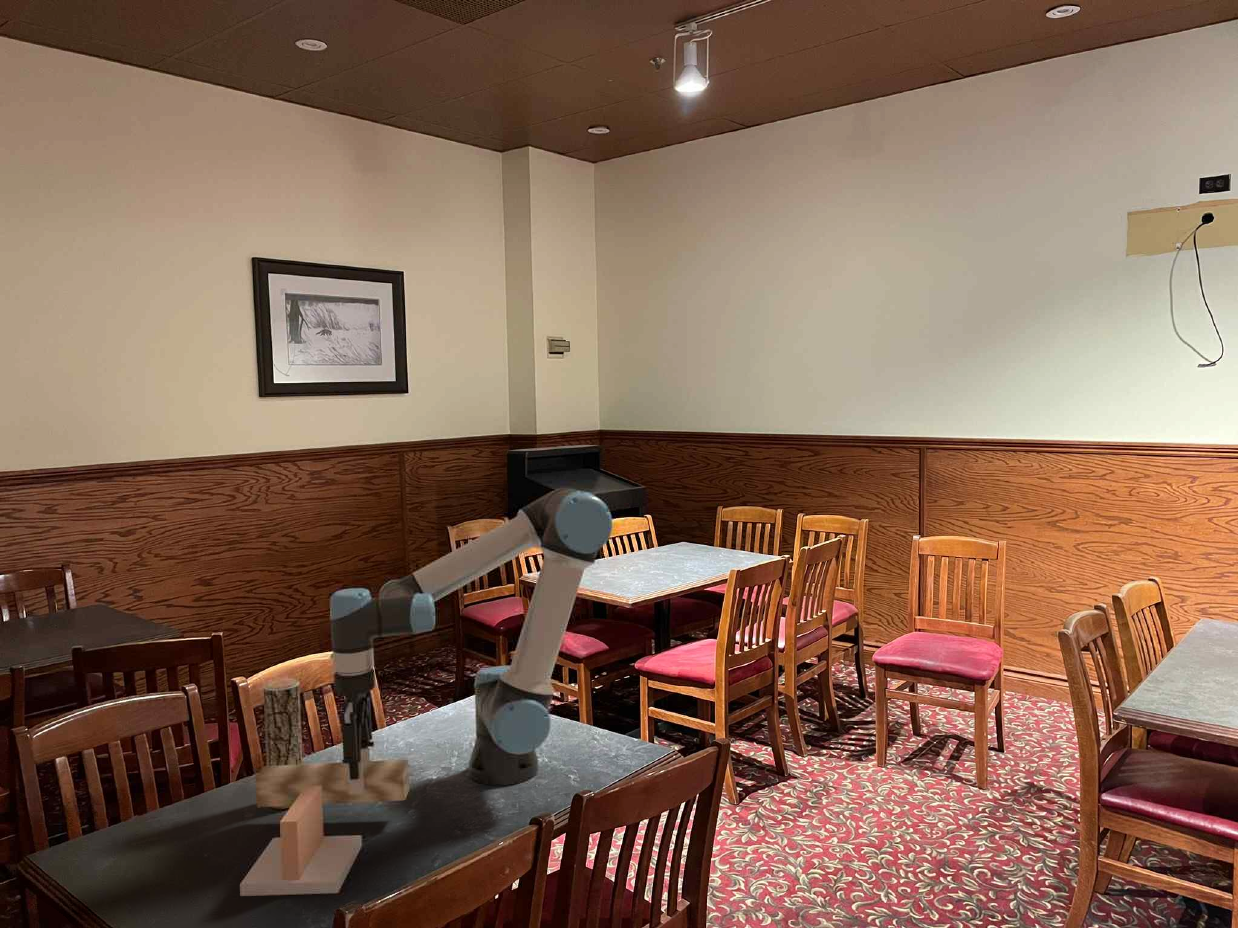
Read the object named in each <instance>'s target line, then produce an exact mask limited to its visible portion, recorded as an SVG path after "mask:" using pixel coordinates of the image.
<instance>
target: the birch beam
mask: <svg viewBox="0 0 1238 928" xmlns="http://www.w3.org/2000/svg"><path fill="white" fill-rule="evenodd" d="M409 767H410V766H409V759H389V760H388V759H387V760H370V761H364V762H363V777H364V794H360V795H349V783H348V766H347V763H343V762H342V761H341V762H328V763H327V762H325V763H305V764H303V763H302V764H300V765H279V766H267V765H265V766H263V767H262V769H260V770H259V772H257V774H255V776H254V781H255V795H256V808H269V807H270V808H272V807H275V806H292V805H293V803H294V802H295V801H296V799H297V798H298V796H299V795H300V794H301V792H302V791H303V790H304V788H305V787H306V786H322V805H331V804H332V805H335V804H353V803H357V804H358V803H372V802H373V803H375V802H391V801H392V802H394V801H397V802H398V801H405V800H406V798H407V796H408V794H409V792H410V786H411V785H410V773H409V772H410V771H409V769H410V768H409Z"/></svg>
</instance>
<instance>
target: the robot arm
mask: <svg viewBox="0 0 1238 928" xmlns="http://www.w3.org/2000/svg"><path fill="white" fill-rule="evenodd" d="M612 530H613V518H612V514H611V512H610V510H609V507H608V506H607V505H606V503H605V502H604V501H603V500H601V499H600V498H599V497H598V496H596V495H595V494H593V493H591V492H588V491H582V490H580V489H577V488H572V487H560V488H557V489H555V490H552V491H550V492H548V493H546V494H545V495H543V496H541V497H540V498H538V499H536V500H534V501H532V502H531V503H529V504H528V505H526V506H524V507H522V508H521V509H519V510H518V512H517V514H516V516H515V517H514V518H512V519H509V520H508V521H506V522H505V523H503V524H501V525H499V526H497V527H496V528H493V529H492V530H489V531H488V532H486V533H484V534H483V535H480V536H478V537H477V538H475V539H473V540H471V541H469V542H467V543H465V544H464V545H462V546H460V547H458V548H457V549H455V550H453V551H451V552H448V553H447V554H446V555H444V556H442V557H440V558H438V559H436V560H435V561H433V562H431V563H428V564H427V565H425V566H424V567H422V568H420V569H418V570H416V571H414V572H412V573H411V574H408V575H406V576H404V577H403V578H401V579H392V580H390V581H387V582H385V584H384V585H382V587H381V589H380V590H379V594H378V597H377V598H376V597H373V598H372V595H371V592H370V590H369V589H367V588H363V587H358V588H355V587H354V588H346V589H345V588H344V589H340V590H337V591H334V592H333V593H332V594H331V596H330V598H329V599H330V600H329V608H330V609H329V610H330V611H329V617H330V618H329V620H330V621H329V622H330V631H331V632H330V633H331V644H332V647H331V649H332V653H330V656H329V658H330V659H332V660H333V662H332V664H333V671H334V672H335V673H334V674H333V685H334V692H335V693H336V694H338V695H341V696H344V698H345V699H344V701H343V703H342V704H343V705H342V711H343V712H341V713H340V715H339V718H340V722H341V737H342V753H343V754H342V756H343V759H342V760H341V763H342V762H343V763H347V766H348V783H349V795H360V794H364V777H363V762H364V761H371V749H370V748H372V747H374V746H375V741H372V739H373V732H372V731H373V728H372V713H371V691H372V690H374V689H375V686H376V677H375V669H373V667H374V666H375V659H374V657H375V654H374V642H373V639H374V638H381V637H382V638H383V637H392V636H393V637H394V636H402V635H403V636H405V635H411V634H415V635H418V634H420V633H425V632H431V631H432V630H434V628H435V626H436V609H435V608H436V607H435V602H436V601H438V600H440V599H442V598H444V597H445V596H447V595H450V594H451V593H452V592H455V591H457V590H459V589H460V588H461V587H464V586H466V585H467V584H469V583H471V582H473V581H474V580H476V579H479V578H480V577H482V576H483V575H485V574H488V573H489V572H491V571H493V570H494V569H497V568H498V567H500V566H503V565H504V564H505V563H507V562H509V561H511V560H513V559H514V558H517V557H519V556H520V555H522V554H524V553H526V552H527V551H530V550H532V549H534V548H535V549H539V550H541V553H542V555H543V556H544V557H543V561H542V564H541V567H540V571H539V574H538V577H537V580H536V583H535V587H534V589H533V593H532V597H531V600H530V603H529V606H528V608H527V612H526V614H525V615H526V616H525V619H524V622H523V625H522V628H521V631H520V634H519V638H518V641H517V645H516V648H515V651H514V654H513V657H512V661H511V664H510V665H499V666H498V665H497V666H490V667H486V668H481V669H480V670H478V671H477V672H476V673H475V675H474V684H473V687H474V703H475V705H474V706H475V707H474V708H475V733H476V734H475V741H474V745H473V748H472V752H471V754H470V757H469V761H468V775H469V777H470V778H471V780H474V781H475V782H477V783H480V784H483V785H489V786H505V785H514V784H519V783H522V782H526V781H527V780H530V779H531V778H533V777H534V776H536V774H538V771H539V759H538V756H537V752H536V749H539V747H540V746H542V745H543V743H545V741H546V739H547V738H548V736H549V734H550V730H551V716H550V712H549V709H550V706H551V705H552V704H551V703H552V701H553V696H554V693H555V689H554V687H553V686H552V683H551V678H552V676H553V675H552V674H553V671H554V668H555V666H556V661H557V659H558V656H559V652H560V649H561V646H562V643H563V639H564V637H565V633H566V630H567V628H568V627H567V626H568V624H569V620H570V617H571V613H572V611H573V607H574V604H575V600H576V598H577V594H578V591H579V587H580V584H581V581H582V578H583V575H584V572H585V570H586V569H587V568H588V567H589V568H590V567H591V566H594V564H595V561H596V558H597V556H598V552H599V549H601V548H602V547H604V545H606V543H607V542H608V541H609V539H610V537H611V534H612Z"/></svg>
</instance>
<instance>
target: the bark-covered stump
mask: <svg viewBox="0 0 1238 928" xmlns="http://www.w3.org/2000/svg"><path fill="white" fill-rule="evenodd" d="M262 691H263V706H264V707H263V711H264V732H265V733H264V736H265V756H266V757H265V758H266V766H279V765H300V764H303V744H302V742H303V741H302V722H301V721H302V720H301V718H302V717H301V715H302V714H301V695H300V694H301V693H300V680H299V679H298V678H297V677H296V678H295V677H279V678H273V679H270V680H267V681H266V682H264V683H263V690H262ZM290 807H291V806H275V807H271V808H272V809H277V810H284V809H290Z"/></svg>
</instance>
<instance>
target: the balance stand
mask: <svg viewBox="0 0 1238 928" xmlns="http://www.w3.org/2000/svg"><path fill="white" fill-rule="evenodd" d="M323 811H324V810H323V804H322V786H306V787H305V788H304V790H303V791H302V792H301V794H300V795H299V796H298V798H297V799H296V801H295V802H294V803H293V805H292V806H291V807H290V808H288V810H287V811H286V813H285V815H283V817H282V819H281V820H280V821H279V828H280V829H279V830H280V831H279V833H280V837H273V838H272V839H271V840H270V842H269V843H268V844H267V846H266V847H265V849H264V850H263V852H262V853H261V854H260V855H259V857H258V858H257V860H256V861H255V863H254V864H253V866H252V867H251V868H250V870H249V871H248V873H247V874H246V875H245V877H244V878H243V879H242V880H241V882H240V884H239V892H240V893H239V896H240V897H252V896H253V897H254V896H284V895H286V896H287V895H316V894H317V895H320V894H338V893H340V889H341V888H342V886H343V884H344V883H345V879H347V876H348V874H349V872H350V870H351V868H352V866H353V864H354V863H355V861H356V859H357V856H358V854H359V852H360V850H361V848H362V847H363V841H362V840H363V838H362V835H359V834H357V835H330V836H329V835H326V836H325V835H324V816H323V815H324V814H323V813H324V812H323Z"/></svg>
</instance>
